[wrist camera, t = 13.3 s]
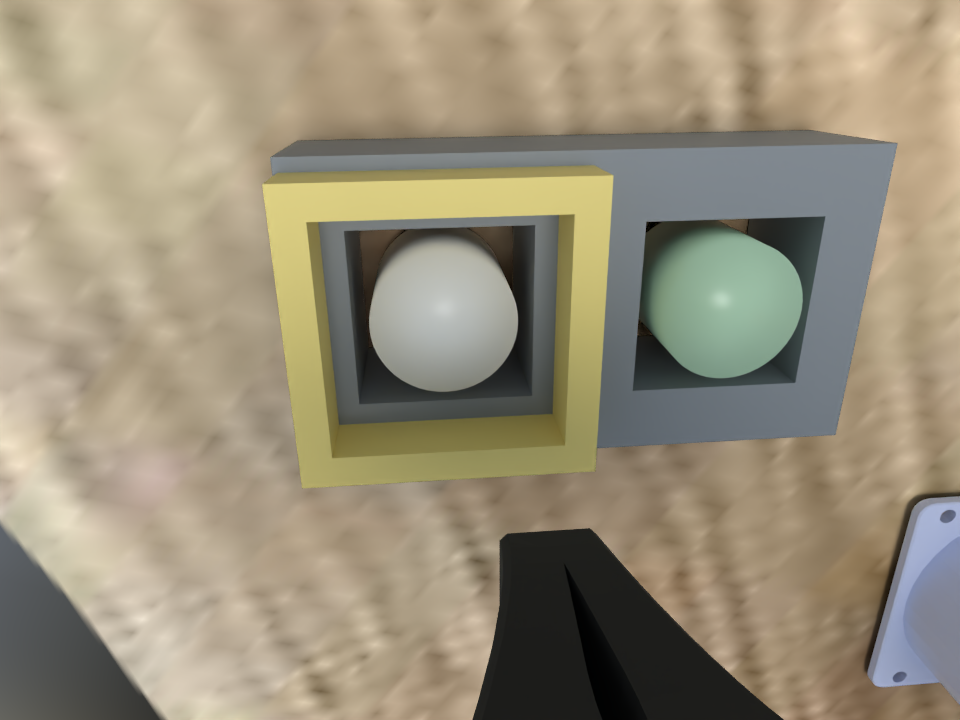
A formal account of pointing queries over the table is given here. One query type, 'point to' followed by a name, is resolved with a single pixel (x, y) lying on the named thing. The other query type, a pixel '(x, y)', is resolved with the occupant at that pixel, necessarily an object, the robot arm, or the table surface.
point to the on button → (717, 297)
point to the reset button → (442, 309)
